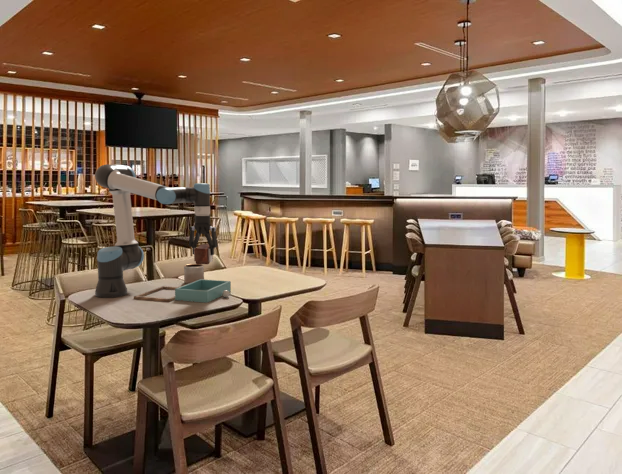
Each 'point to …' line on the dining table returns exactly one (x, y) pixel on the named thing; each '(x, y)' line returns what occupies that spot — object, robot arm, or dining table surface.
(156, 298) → the frame
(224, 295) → the pebble
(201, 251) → the reddish brown block
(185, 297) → the dish
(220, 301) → the dining table surface
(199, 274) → the planter
